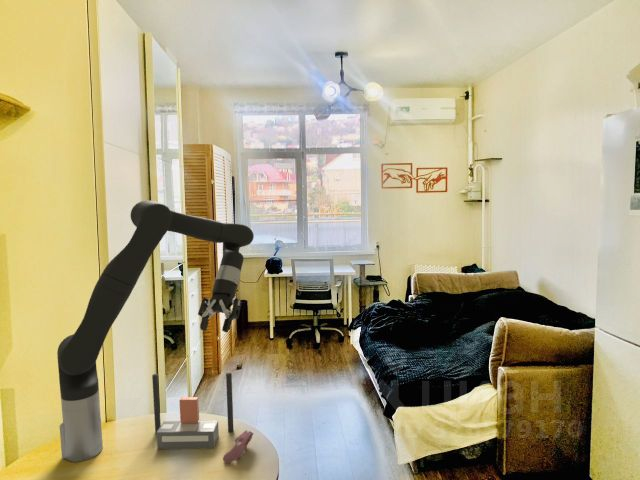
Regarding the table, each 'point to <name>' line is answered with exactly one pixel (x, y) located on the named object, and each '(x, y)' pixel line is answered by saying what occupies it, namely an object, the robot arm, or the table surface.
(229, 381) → the cord posts
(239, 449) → the video game controller
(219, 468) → the table surface
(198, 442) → the breaker block
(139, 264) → the robot arm
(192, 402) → the block
